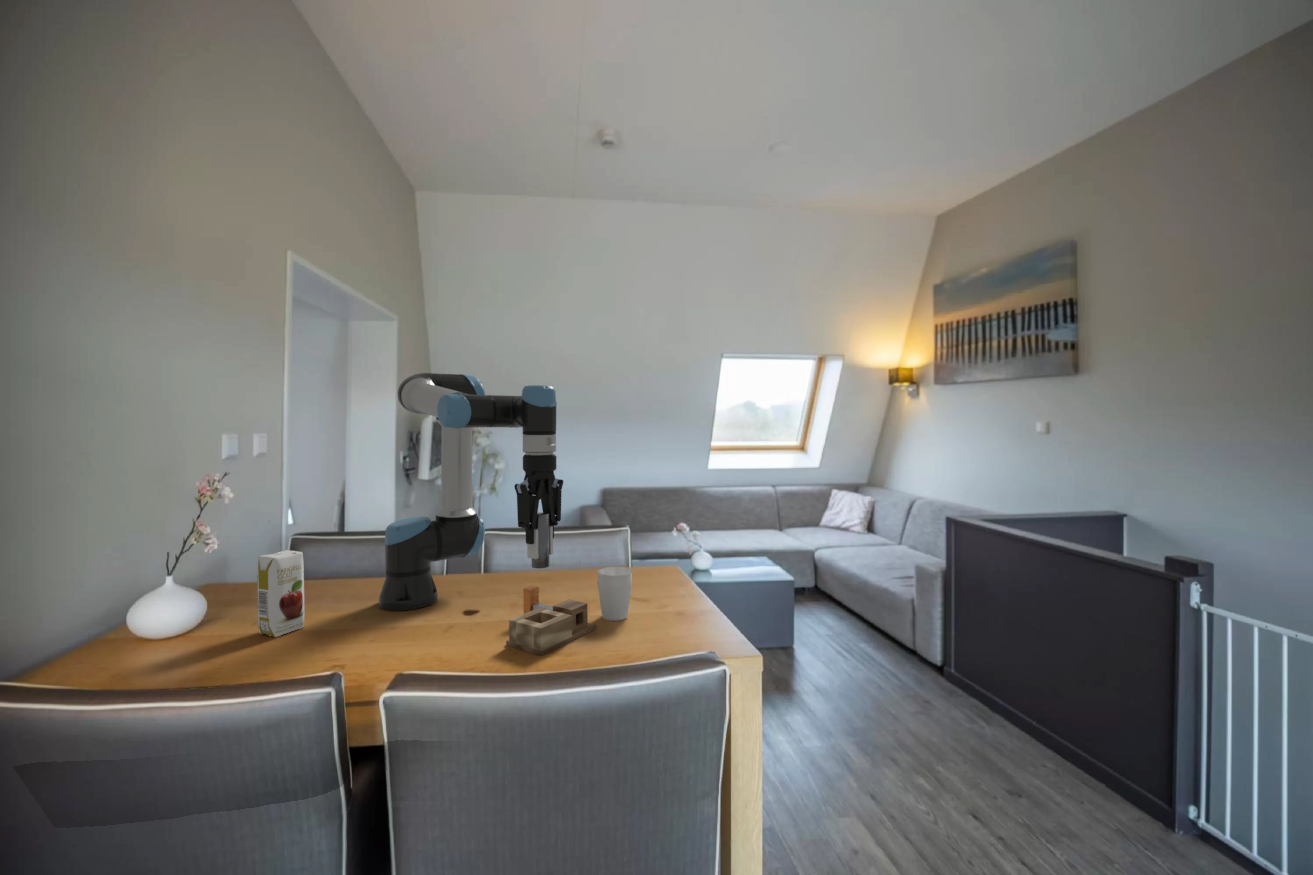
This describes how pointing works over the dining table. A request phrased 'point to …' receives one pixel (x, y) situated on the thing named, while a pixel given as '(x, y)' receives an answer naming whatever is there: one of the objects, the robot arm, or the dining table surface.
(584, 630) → the dock
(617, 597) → the cup
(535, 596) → the pin
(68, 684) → the dining table surface
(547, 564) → the dark grey cylinder
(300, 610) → the juice carton
